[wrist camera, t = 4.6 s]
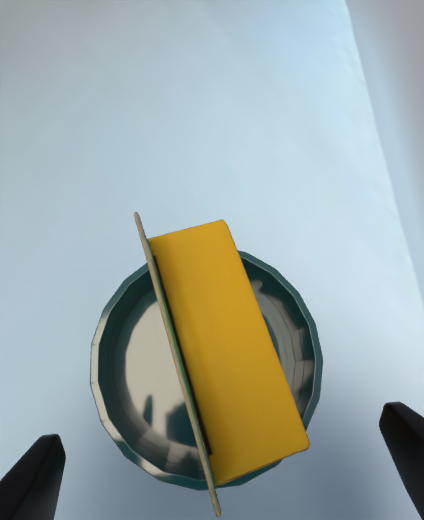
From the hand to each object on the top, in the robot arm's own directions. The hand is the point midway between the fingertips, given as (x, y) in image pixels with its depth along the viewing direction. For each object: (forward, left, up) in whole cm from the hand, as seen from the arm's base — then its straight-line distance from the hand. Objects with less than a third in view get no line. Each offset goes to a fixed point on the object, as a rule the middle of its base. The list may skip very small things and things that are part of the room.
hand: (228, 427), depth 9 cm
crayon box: (+1, -2, -10) cm, 10 cm away
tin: (+1, -2, -10) cm, 10 cm away
